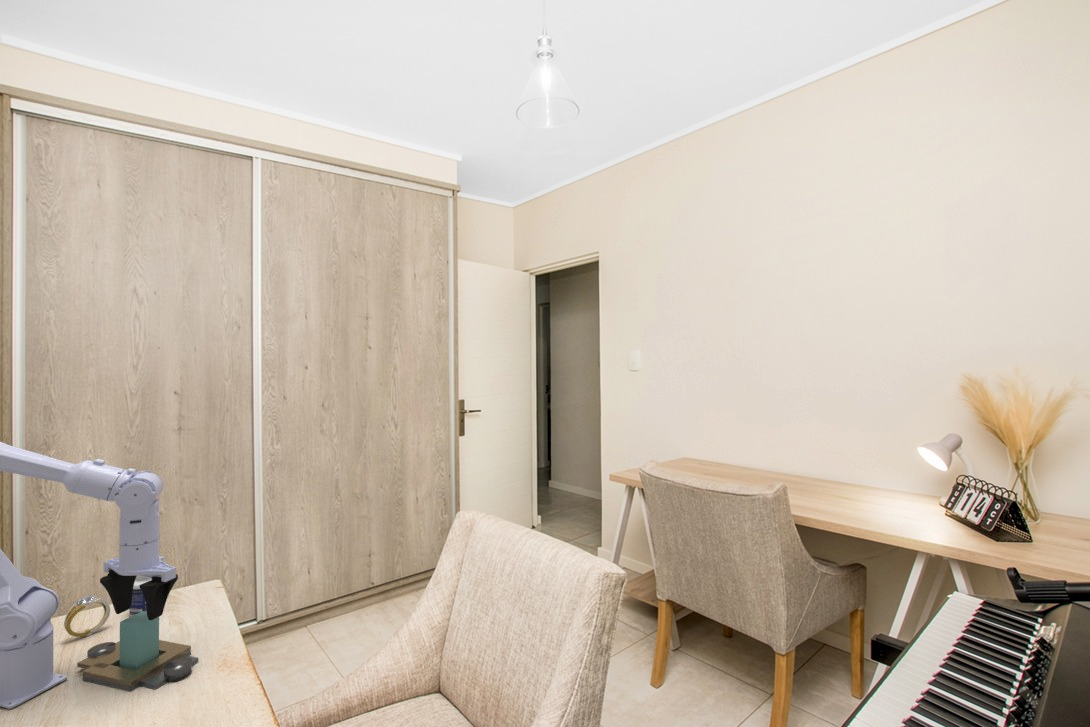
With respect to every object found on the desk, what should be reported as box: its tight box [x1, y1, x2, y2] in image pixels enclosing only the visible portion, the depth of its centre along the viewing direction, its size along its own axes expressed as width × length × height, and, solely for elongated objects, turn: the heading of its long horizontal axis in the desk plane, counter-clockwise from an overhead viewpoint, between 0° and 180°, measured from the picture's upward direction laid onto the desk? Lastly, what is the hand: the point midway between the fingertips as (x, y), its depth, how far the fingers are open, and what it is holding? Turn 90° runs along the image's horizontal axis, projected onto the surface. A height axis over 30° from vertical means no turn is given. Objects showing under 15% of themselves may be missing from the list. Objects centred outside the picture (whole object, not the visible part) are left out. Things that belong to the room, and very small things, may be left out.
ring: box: [63, 594, 111, 638], centre depth 102 cm, size 7×3×8 cm, turn 146°
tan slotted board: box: [76, 639, 192, 687], centre depth 93 cm, size 16×11×2 cm, turn 76°
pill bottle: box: [128, 575, 152, 617], centre depth 111 cm, size 5×5×10 cm
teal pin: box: [119, 611, 160, 670], centre depth 92 cm, size 4×4×9 cm
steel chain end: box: [81, 649, 199, 692], centre depth 91 cm, size 16×11×2 cm, turn 76°
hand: (139, 614), depth 92 cm, fingers open, 7 cm apart
